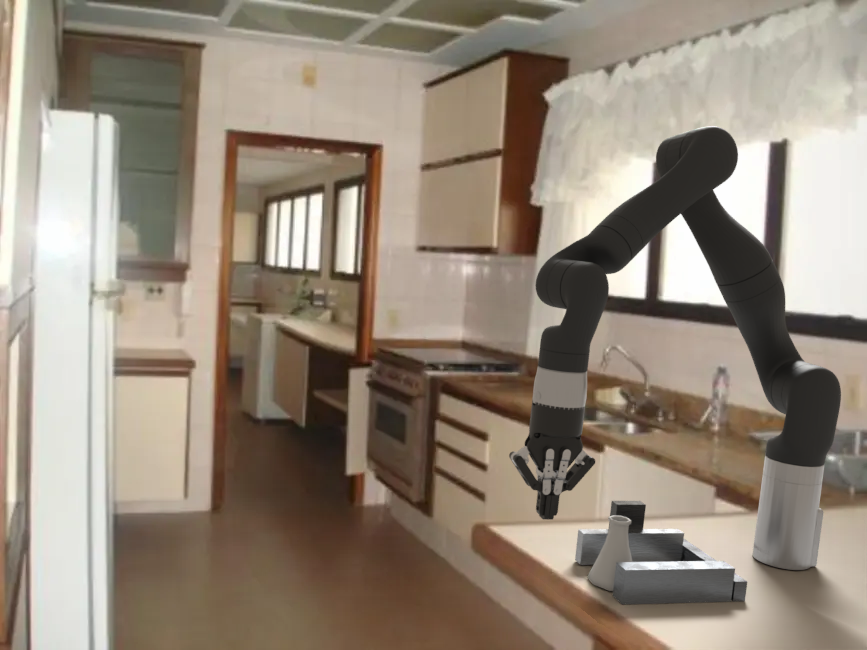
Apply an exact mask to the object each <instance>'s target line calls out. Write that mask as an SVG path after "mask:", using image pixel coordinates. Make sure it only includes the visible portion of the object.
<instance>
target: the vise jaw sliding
mask: <svg viewBox="0 0 867 650" xmlns="http://www.w3.org/2000/svg"><path fill="white" fill-rule="evenodd" d="M646 506H647V504H646V503H644V502H642V501H641V500H611V504H610V513H609V517H610V516H613V515H614V516H624V517H627V518H629V519H630V520H631V524H630V525H629V529H628V540H629V548H630V553H631V557H632V561H633V562H672V561H681V556H682V548H683V539H685V532H684V531H682V530H680V529H679V528H644V524H645V516H646V515H645V514H646ZM608 522H609V523H608V526H609V525H610V521H609V520H608ZM608 532H609V528H604V529H603V528H588V529H587V528H585V529H584V528H583V529H582V528H578V529H577V538H576V539H577V540H576V549H575V557H574V561H576V563H577V564H579V565H580V566H584V565H585V566H586V565H587V566H589V565H591V566H593V565H594V563H595V561H596V560H597V558H598V556H599V554H600V552H601V550H602V548H603V546H604V544H605V541H606V538H607V535H608Z"/></svg>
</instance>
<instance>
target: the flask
mask: <svg viewBox="0 0 867 650" xmlns="http://www.w3.org/2000/svg"><path fill="white" fill-rule="evenodd" d="M607 520H608V522H609V521H610V525H609V524H608V529H609V532H608V535H607V538H606V541H605V544H604V546H603V548H602V550H601V552H600V554H599V556H598V558H597V560H596V561H595V563H594V565H592V567H591V569H590V570H589V573H588V575H587V577H586V578H587V579H588V580H589V581H590V582H591V583H592V585H594V586H596V587H597V588H598V587H599V588H600V589H604V590H607V591H609V592H613V587H614V578H615V569H616V562H633V561H632V557H631V553H630V548H629V540H628V529H629V525H630V524H631V520H630V519H629V518H627V517H624V516H614V515H613V516H610V515H609V516H608V517H607Z"/></svg>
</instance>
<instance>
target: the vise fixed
mask: <svg viewBox="0 0 867 650" xmlns="http://www.w3.org/2000/svg"><path fill="white" fill-rule="evenodd" d="M747 588H748V580H746V579H745V578H743V577H741V576H740V575H739V574H737V573H736V567H734V566H732V565H731V564H729V563H728V562H726V561H725V560H716V559H715V558H713V557H712V556H711V555H709V554H707V553H706V552H705V551H703V550H702V549H701V548H700V547H697V546H696V545H694V544H693V543H691V541H688V540H687V539H685V538H684V539H683V548H682V556H681V561H672V562H616V569H615V578H614V587H613V591H612V597H613V598H614V599H616V601H617V602H619V604H621V605H653V604H657V605H658V604H685V603H686V604H687V603H689V604H690V603H721V602H722V603H723V602H725V603H726V602H727V603H728V602H731V603H732V602H745V601H746V596H747Z"/></svg>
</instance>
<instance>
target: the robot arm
mask: <svg viewBox="0 0 867 650" xmlns="http://www.w3.org/2000/svg"><path fill="white" fill-rule="evenodd" d="M738 151H739V150H738V146H737V142H736V141H735V139H734V138H733V136H732V135H731V133H730V132H728V131H727V130H726V129H725V128H722V127H719V126H716V125H715V126H714V125H710V126H701V127H698V128H695V129H690V130H688V131H684V132H682V133H681V132H680V133H678V134H675V135H672V136H669V137H667V138H666V139H664V140H663V141H662V142H661V143H660V144H659V146H658V148H657V151H656V152H655V153H656V154H655V162H656V163H655V164H656V165H655V166H656V169H657V174H658V176H659V179H657V180H656V181H654V182H653V183H652V184H650V185H649V186H647V187H646V188H644V189H642V190H641V191H639V192H637V193H636V194H635V195H632V196H631V197H630V198H628V199H627V200H625V201H624V202H623V203H621V204H620V205H618V206H617V207H615V209H613V211H611V212H609V214H608V215H607V216H605V218H603V219H602V221H600V222H599V224H597V225H596V226H595V227H594V228H593V229H592V231H590V233H588V234H587V235H586V236H584V237H582V238H580V239H577V240H576V241H574V242H573V243H571V244H569V245H567V246H566V247H564V248H563V249H561V250H560V251H557V252H556V253H555V254H553V255H552V256H550V257H549V259H547V260H546V261H545V263H543V265H542V266H541V268H540V269H539V271H538V272H537V275H536V280H535V293H536V295H537V297H538V299H540V301H541V302H542V303H544V304H545V305H547V306H549V307H552V308H558V309H561V310H565V313H564V316H563V318H562V320H561V322H560V324H558V325H557V324H556V325H555V324H554V325H550V326H547V327H545V328H544V329H543V331H542V333H541V335H540V336H541V337H540V342H539V353H538V363H537V368H536V369H537V370H536V374H535V376H534V377H535V378H534V382H533V391H532V399H531V406H530V407H531V408H530V419H529V426H528V427H529V429H528V435H527V437H526V438H525V441H524V446H523V447H521V448H520V449H519V450H517V451H515V450H514V451H511V452H510V453H509V455H508V457H509V459H510V460H511V462H512V463H513V465H514V468H516V470H517V472H518V473H519V475H520V476H521V478H522V480H523V481H524V482H525V484H526V485H527V486H528V487H530V488H531V490H533V491H536V492H537V493H536V495H537V496H536V505H535V511H536V513H537V514H538V516H539V518H540V519H542V520H550V521H551V520H554V518H555V517H556V516H557V514H559V513H558V512H559V503H560V497H561V496H560V495H561V494H562V493H563V492H567V491H568V492H570V491H573V489H574V488H575V487H576V486H577V485H578V483H580V481H582V479H583V478H584V477H585V476H586V475H587V473H588V472H590V470H591V469H592V467H594V466H595V464H596V459H595V458H594V457H592V456H591V455H590V454H588V453H586V451H585V450H583V449H584V444H583V442H582V434H583V428H584V427H583V426H584V419H585V410H586V402H587V400H588V395H587V394H588V368H589V360H590V352H591V351H590V349H591V344H592V340H593V338H594V335H595V333H596V331H597V329H598V325H599V323H600V321H601V318H602V315H603V313H604V310H605V308H606V305H607V301H608V297H609V292H610V287H609V279H608V276H607V275H612V274H616V273H618V272H620V271H622V270H623V269H624V268H626V266H627V265H628V264H629V263H630V262H631V261H632V260H633V259H634V258H635V257H636V256H637V255H638V254H639V253H640V252H641V251H643V250H644V249H645V247H646V246H647V245H648V244H649V243H650V242H651V241H652V240H654V238H655V237H656V236H657V235H658V234H659V233H660V232H662V230H664V229H665V228H666V227H667V226H668V225H669V224H670V223H671V222H672V221H674V220H675V219H676V218H677V217H678V216H680V215H681V216H682V218H683V220H684V221H685V224H686V225H687V227H688V228H689V230H690V232H691V233H692V236H693V237H694V240H695V242H696V243H697V245H698V247H699V249H700V252H701V253H702V255H703V257H704V259H705V261H706V263H707V265H708V267H709V269H710V272H711V275H712V277H713V278H714V281H715V283H716V285H717V287H718V289H719V291H720V294H721V296H722V298H723V300H724V302H725V304H726V306H727V308H728V309H729V312H730V313H731V316H732V318H733V319H734V322H735V324H736V326H737V328H738V330H739V333H740V334H741V337H742V339H743V340H744V342H745V344H746V346H747V349H748V351H749V353H750V356H751V358H752V361H753V364H754V367H755V370H756V373H757V377H758V379H759V381H760V382H759V383H760V385H761V388H762V390H763V393H764V395H765V397H766V399H767V401H768V403H769V404H770V405H771V407H772V408H773V409H775V410H776V411H778V412H779V413H781V414H783V415H785V417H784V423H783V428H782V431H781V432H780V434H778V435H774V436H772V437H770V438H768V439H767V441H766V446H765V454H764V461H763V469H762V476H761V477H762V479H761V486H760V493H759V501H758V508H757V515H756V523H755V531H754V539H753V547H752V556H753V558H754V559H755V560H757V561H758V562H760V563H762V564H765V565H767V566H771V567H773V568H779V569H783V570H789V571H790V570H791V571H792V570H793V571H804V570H808V569H809V568H811V567H817V566H818V565H817V564H818V558H819V556H818V555H819V548H820V541H821V534H822V527H823V526H822V525H823V519H824V509H822V508H821V507H820V502H821V501H820V500H821V494H822V486H823V480H824V479H823V477H824V471H825V463H826V458H827V456H828V453H829V452H830V451H831V449H832V447H833V443H834V440H835V435H836V430H837V424H838V419H839V416H840V415H839V414H840V409H841V408H840V407H841V400H842V392H841V391H842V390H841V384H840V381H839V379H838V377H837V375H836V374H835V373H834V372H833V371H831V370H830V369H828V368H826V367H823V366H821V365H820V366H819V365H816V364H813V363H810V362H806V361H805V360H804V359H803V358H802V356H801V354H800V353H799V351H798V349H797V347H796V346H795V344H794V342H793V340H792V338H791V336H790V333H789V331H788V327H787V323H786V291H785V286H784V284H783V280H782V277H781V275H780V273H779V271H778V269H777V267H776V265H775V262H774V260H773V258H772V256H771V254H770V252H769V251H768V249H767V247H766V246H765V245H764V244H763V243H762V242H761V240H759V238H758V237H756V236H755V235H754V234H753V233H752V232H750V230H748V229H747V228H746V227H745V226H744V225H742V224H741V223H740V222H739V221H737V219H735V218H734V217H733V216H732V215H731V214H729V213H728V211H727V210H726V208H724V206H723V205H722V204H721V202H720V201H719V199H718V197H717V194H716V193H715V191H714V190H715V189H716V188H718V187H719V186H721V185H722V184H724V183H725V182H726V181H727V180H728V179H730V178H731V176H732V175H733V174H734V173H735V170H736V168H737V164H738V160H739V152H738ZM529 456H530V458H531V460H532V462H533V464H534V466H536V467H535V473H536V477H535V475H534V474H533V472H532V470H531V469H530V467H529V466H528V464H529V463H530V462H529V461H530V458H529ZM573 462H574V464H573ZM571 465H572V466H571ZM568 468H569V469H568Z"/></svg>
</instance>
